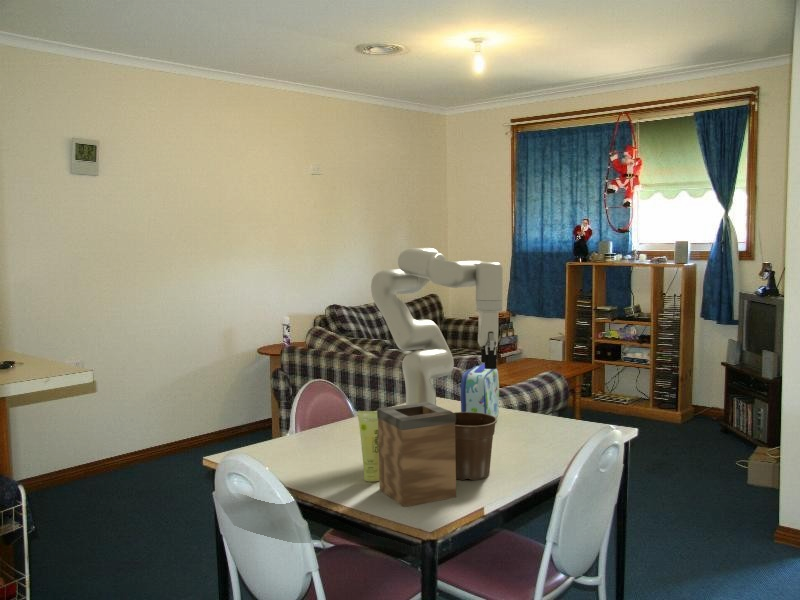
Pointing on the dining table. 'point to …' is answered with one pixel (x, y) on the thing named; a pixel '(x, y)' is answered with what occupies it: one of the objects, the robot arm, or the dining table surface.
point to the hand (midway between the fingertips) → (488, 365)
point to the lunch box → (480, 391)
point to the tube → (369, 444)
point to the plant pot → (473, 444)
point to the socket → (417, 453)
